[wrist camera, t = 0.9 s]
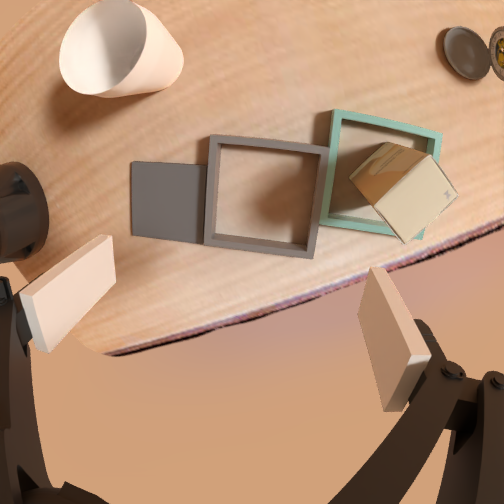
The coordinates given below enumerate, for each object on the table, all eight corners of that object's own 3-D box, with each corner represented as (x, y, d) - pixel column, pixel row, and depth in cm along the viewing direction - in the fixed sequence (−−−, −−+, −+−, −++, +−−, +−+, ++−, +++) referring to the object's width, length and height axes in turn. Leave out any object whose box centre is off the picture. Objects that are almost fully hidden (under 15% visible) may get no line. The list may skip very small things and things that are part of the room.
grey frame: (208, 239, 37) (203, 245, 35) (214, 134, 33) (210, 134, 31) (311, 252, 36) (312, 259, 35) (327, 146, 32) (330, 147, 30)
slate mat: (134, 233, 38) (132, 235, 38) (134, 161, 35) (131, 161, 34) (203, 242, 38) (202, 244, 37) (207, 165, 34) (206, 166, 33)
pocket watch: (431, 40, 25) (473, 18, 16) (472, 16, 23) (516, -5, 13) (470, 100, 27) (520, 98, 18) (508, 73, 24) (558, 67, 15)
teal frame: (317, 218, 35) (318, 224, 33) (332, 109, 30) (334, 108, 28) (416, 234, 34) (422, 240, 32) (435, 132, 29) (442, 133, 27)
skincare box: (386, 140, 31) (433, 149, 19) (411, 170, 31) (463, 194, 20) (344, 178, 33) (371, 206, 22) (370, 207, 34) (405, 248, 22)
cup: (179, 110, 32) (126, 105, 21) (112, 93, 32) (46, 89, 21) (206, 36, 29) (166, -1, 17) (136, 24, 28) (78, -5, 17)
